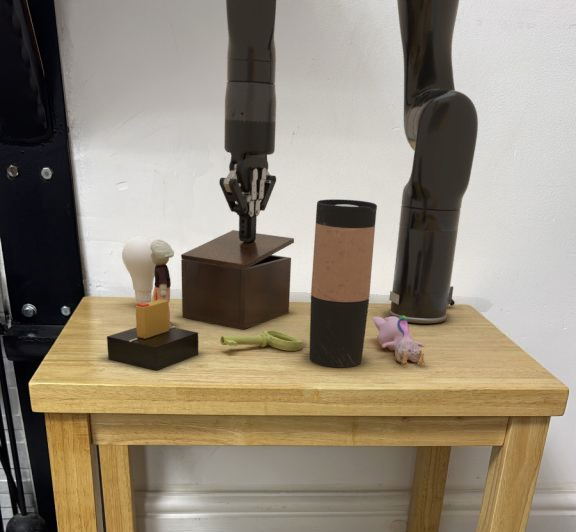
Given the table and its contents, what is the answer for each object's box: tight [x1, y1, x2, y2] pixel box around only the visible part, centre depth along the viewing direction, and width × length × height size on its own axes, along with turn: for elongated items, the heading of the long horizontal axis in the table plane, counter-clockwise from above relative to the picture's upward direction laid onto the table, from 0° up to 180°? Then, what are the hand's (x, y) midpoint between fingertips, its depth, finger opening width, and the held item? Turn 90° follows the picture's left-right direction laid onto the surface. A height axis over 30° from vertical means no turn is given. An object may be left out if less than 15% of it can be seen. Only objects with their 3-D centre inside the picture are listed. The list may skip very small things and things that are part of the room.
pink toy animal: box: [372, 315, 426, 368], centre depth 110 cm, size 6×6×15 cm
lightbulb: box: [121, 235, 156, 304], centre depth 126 cm, size 6×6×11 cm
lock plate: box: [106, 325, 199, 371], centre depth 103 cm, size 9×8×3 cm
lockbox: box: [180, 254, 292, 330], centre depth 124 cm, size 14×12×9 cm
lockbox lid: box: [180, 229, 295, 269], centre depth 121 cm, size 14×12×1 cm
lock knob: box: [135, 299, 170, 339], centre depth 101 cm, size 5×1×4 cm, turn 150°
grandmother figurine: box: [151, 238, 175, 327], centre depth 113 cm, size 8×4×13 cm, turn 18°
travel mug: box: [309, 198, 378, 368], centre depth 101 cm, size 8×8×20 cm
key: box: [219, 329, 303, 352], centre depth 109 cm, size 7×12×2 cm, turn 139°
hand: (247, 240), depth 123 cm, fingers closed
